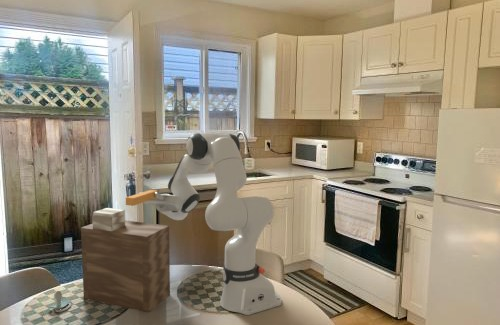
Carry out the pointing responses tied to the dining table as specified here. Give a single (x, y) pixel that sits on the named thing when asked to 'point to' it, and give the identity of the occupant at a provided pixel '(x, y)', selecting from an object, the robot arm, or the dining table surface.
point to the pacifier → (60, 304)
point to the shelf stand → (125, 261)
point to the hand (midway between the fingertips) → (150, 193)
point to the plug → (141, 197)
